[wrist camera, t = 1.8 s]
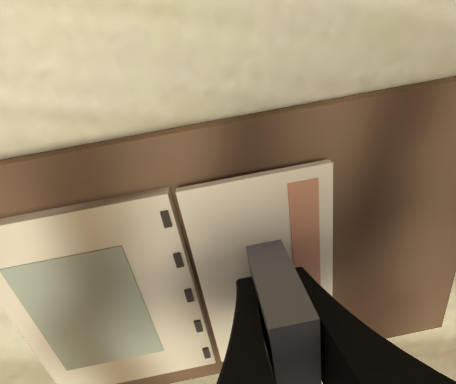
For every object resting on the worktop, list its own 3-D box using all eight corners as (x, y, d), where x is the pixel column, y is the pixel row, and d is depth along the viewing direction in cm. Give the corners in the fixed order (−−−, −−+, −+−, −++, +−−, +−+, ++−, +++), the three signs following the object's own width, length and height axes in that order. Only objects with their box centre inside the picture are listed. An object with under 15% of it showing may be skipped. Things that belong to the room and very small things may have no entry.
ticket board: (481, 71, 11) (530, 71, 9) (428, 313, 17) (453, 339, 15) (-63, 172, 10) (-112, 190, 9) (79, 385, 16) (65, 420, 15)
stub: (328, 159, 10) (408, 213, 6) (328, 332, 15) (377, 429, 11) (176, 188, 10) (162, 262, 6) (220, 354, 14) (229, 462, 11)
